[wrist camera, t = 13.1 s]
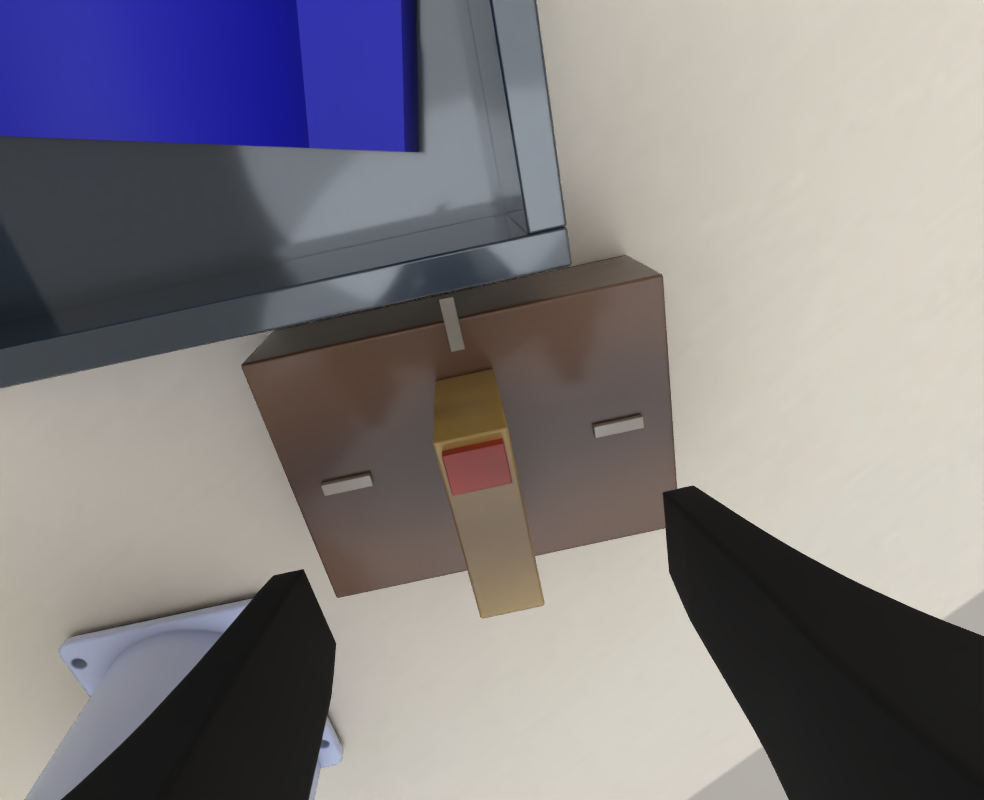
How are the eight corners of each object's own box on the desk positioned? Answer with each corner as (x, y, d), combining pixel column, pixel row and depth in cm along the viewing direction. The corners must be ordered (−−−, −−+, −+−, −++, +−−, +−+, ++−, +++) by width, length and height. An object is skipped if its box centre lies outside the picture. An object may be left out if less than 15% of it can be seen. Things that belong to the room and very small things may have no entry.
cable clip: (414, -65, 13) (394, -232, 7) (418, 152, 14) (404, 150, 9) (-167, -108, 12) (-716, -343, 6) (-85, 132, 13) (-450, 118, 8)
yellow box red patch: (525, 519, 17) (546, 613, 13) (473, 531, 17) (481, 627, 13) (493, 367, 15) (509, 432, 11) (433, 380, 15) (432, 448, 11)
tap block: (649, 489, 20) (683, 544, 17) (355, 551, 20) (341, 617, 17) (625, 234, 17) (664, 251, 14) (264, 311, 17) (227, 345, 14)
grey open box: (533, 232, 16) (572, 266, 11) (-51, 358, 16) (-258, 444, 12) (431, -408, 11) (424, -840, 6) (-424, -219, 11) (-1084, -503, 6)
